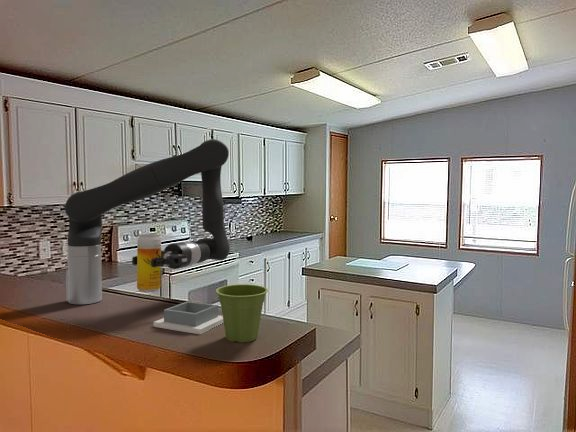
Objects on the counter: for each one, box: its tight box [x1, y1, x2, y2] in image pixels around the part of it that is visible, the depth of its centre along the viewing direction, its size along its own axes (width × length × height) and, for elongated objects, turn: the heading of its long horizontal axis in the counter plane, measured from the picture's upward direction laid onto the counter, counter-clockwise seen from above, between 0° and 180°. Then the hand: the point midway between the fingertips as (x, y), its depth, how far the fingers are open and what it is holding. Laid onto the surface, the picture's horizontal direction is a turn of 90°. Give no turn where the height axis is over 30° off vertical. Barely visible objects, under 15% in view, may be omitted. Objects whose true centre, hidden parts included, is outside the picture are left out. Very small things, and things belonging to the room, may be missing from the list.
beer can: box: [136, 233, 162, 293], centre depth 119 cm, size 6×6×15 cm
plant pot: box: [215, 283, 269, 343], centre depth 101 cm, size 12×12×11 cm
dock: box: [153, 300, 224, 335], centre depth 111 cm, size 14×12×4 cm
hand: (142, 262), depth 116 cm, fingers closed on beer can, 6 cm apart
